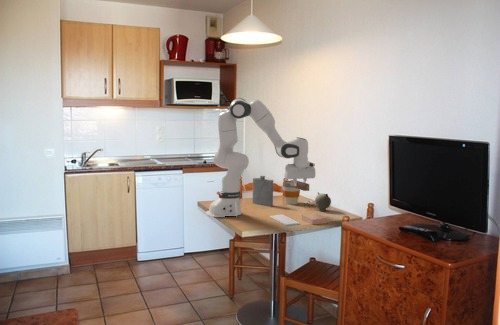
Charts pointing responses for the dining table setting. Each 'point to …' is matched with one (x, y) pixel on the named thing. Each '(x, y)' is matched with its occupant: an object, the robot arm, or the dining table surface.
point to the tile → (314, 219)
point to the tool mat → (284, 220)
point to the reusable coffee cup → (290, 193)
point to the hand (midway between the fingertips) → (299, 185)
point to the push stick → (300, 185)
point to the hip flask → (263, 191)
